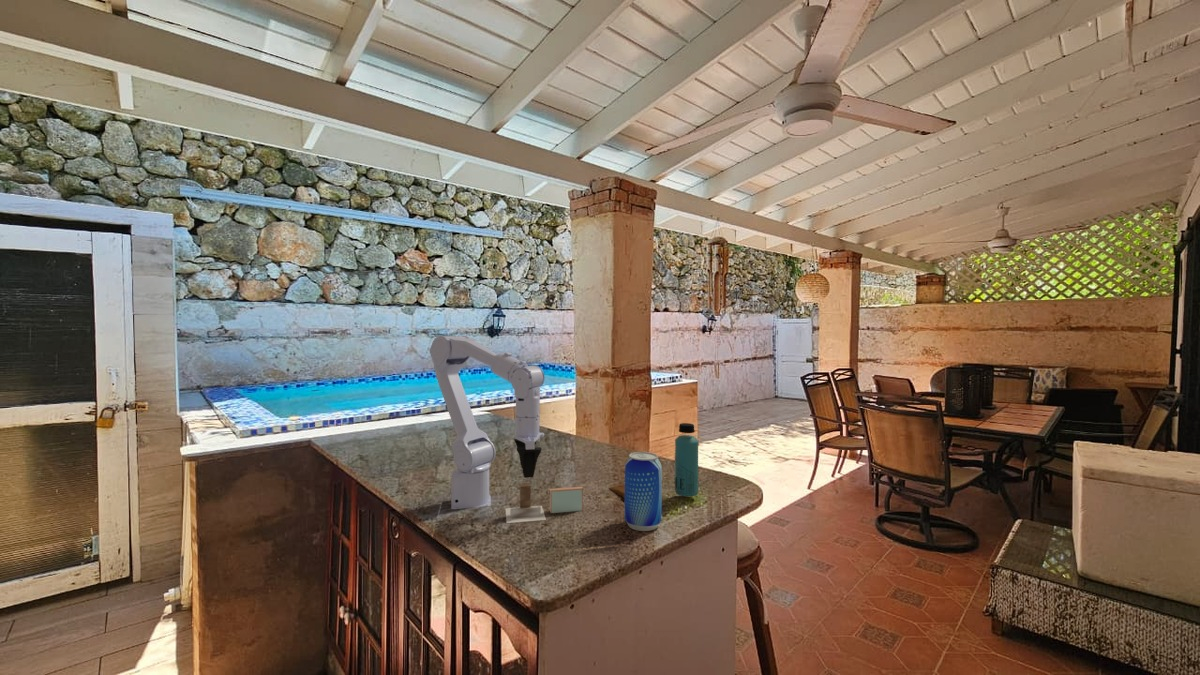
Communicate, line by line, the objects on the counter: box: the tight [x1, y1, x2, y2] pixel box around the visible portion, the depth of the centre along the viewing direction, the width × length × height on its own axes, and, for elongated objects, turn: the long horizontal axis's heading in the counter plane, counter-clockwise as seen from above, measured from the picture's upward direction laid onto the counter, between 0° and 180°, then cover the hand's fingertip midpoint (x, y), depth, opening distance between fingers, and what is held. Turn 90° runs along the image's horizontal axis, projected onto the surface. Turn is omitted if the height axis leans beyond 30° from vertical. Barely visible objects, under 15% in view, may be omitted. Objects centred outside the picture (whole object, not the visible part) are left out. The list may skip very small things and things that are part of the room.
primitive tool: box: [608, 484, 625, 500], centre depth 124 cm, size 19×6×4 cm, turn 21°
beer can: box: [624, 451, 663, 532], centre depth 106 cm, size 8×8×16 cm
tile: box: [549, 486, 584, 514], centre depth 113 cm, size 8×1×6 cm, turn 103°
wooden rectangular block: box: [510, 482, 541, 518], centre depth 110 cm, size 7×3×7 cm, turn 103°
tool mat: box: [505, 505, 547, 524], centre depth 111 cm, size 9×9×1 cm
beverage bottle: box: [673, 422, 700, 497], centre depth 124 cm, size 6×7×20 cm
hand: (527, 472), depth 111 cm, fingers open, 7 cm apart
